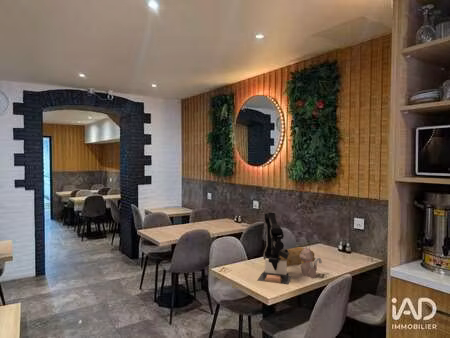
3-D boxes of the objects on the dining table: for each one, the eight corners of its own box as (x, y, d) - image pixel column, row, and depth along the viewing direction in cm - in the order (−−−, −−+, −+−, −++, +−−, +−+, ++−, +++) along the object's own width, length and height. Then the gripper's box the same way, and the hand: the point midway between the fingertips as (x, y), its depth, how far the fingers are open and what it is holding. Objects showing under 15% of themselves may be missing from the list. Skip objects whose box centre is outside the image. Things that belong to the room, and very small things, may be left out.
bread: (307, 256, 257) (307, 244, 257) (317, 260, 248) (317, 247, 247) (273, 263, 238) (273, 250, 238) (283, 267, 229) (283, 254, 229)
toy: (296, 275, 214) (296, 246, 213) (316, 271, 222) (316, 243, 221) (305, 279, 206) (305, 249, 205) (325, 275, 214) (326, 246, 213)
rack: (262, 273, 216) (262, 268, 216) (291, 277, 209) (291, 272, 209) (257, 282, 201) (257, 276, 200) (288, 286, 194) (288, 280, 194)
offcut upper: (266, 276, 203) (266, 274, 203) (280, 277, 202) (280, 275, 202) (266, 279, 198) (266, 277, 198) (280, 280, 197) (280, 278, 197)
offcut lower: (266, 278, 205) (266, 276, 204) (281, 280, 201) (282, 278, 201) (264, 281, 199) (264, 279, 199) (280, 283, 196) (280, 281, 196)
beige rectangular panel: (265, 273, 211) (265, 258, 211) (286, 275, 206) (286, 260, 206) (264, 274, 209) (265, 259, 209) (286, 276, 204) (286, 261, 204)
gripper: (286, 251, 196) (285, 275, 196) (290, 243, 213) (289, 266, 214) (268, 249, 199) (268, 273, 200) (273, 242, 217) (273, 264, 217)
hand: (275, 269), depth 207 cm, fingers closed on beige rectangular panel, 2 cm apart
